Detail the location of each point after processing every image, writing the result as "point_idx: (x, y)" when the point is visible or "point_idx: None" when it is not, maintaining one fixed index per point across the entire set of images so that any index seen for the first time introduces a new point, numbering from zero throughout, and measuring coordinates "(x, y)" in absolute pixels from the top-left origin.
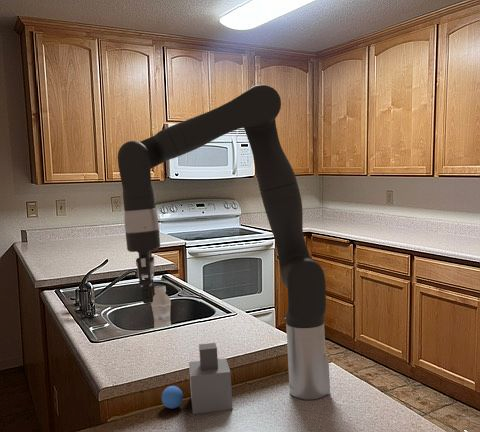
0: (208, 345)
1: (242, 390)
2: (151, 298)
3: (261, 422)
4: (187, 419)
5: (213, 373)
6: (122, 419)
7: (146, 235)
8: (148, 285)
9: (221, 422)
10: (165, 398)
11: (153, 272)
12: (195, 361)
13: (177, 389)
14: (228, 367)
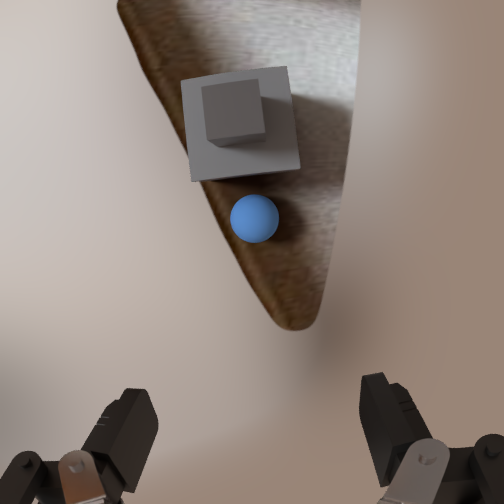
0: (225, 106)
1: (195, 73)
2: (388, 388)
3: (341, 48)
4: (313, 181)
5: (290, 107)
6: (290, 308)
7: None
8: (452, 451)
9: (334, 115)
10: (273, 232)
11: (104, 497)
12: (189, 163)
13: (260, 206)
14: (254, 70)
